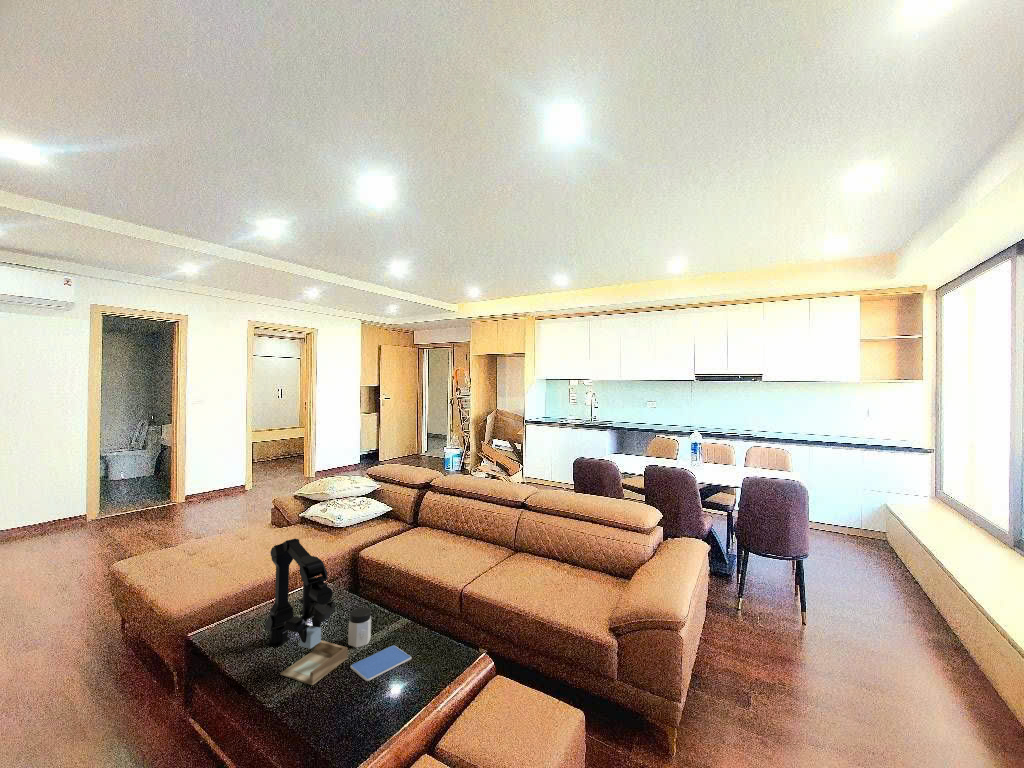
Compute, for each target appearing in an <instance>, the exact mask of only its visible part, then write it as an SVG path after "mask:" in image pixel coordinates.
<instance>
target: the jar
mask: <svg viewBox="0 0 1024 768" xmlns="http://www.w3.org/2000/svg"><path fill="white" fill-rule="evenodd" d="M371 612H372V611H371V609H370V608H368V607H358V608H357V607H356V608H354V609H352V610H351V611H350V613H349V620H348V635H347V637H348V638H347V644H348V645H347V646H351V647H354V648H360V647H364V646H366V645H367V646H368V644H369V642H370V640H371V638H372V637H371V636H372V635H371V633H372V615H371Z"/></svg>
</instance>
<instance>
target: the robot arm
mask: <svg viewBox="0 0 1024 768" xmlns="http://www.w3.org/2000/svg"><path fill="white" fill-rule="evenodd" d="M270 558H271V561H272V563H273V565H275V589H274V603H273V605H272V606H271V608H270V610H269V616H268V618H267V619H266V621H264V625H265V630H267V631H268V632H269V635H268V640H267V641H266V642H265V645H269V646H272V647H275V648H279V647H280V646H281V645H283V644H285V643H286V642H288V641H290V640H291V637H289V636H288V635H289V632H292V633H297V634H298V636H299V639H300V638H301V640H302V642H303V643H305V642H306V635H307V628H308V627H309V626H315V627H320V628H321V625H322V623H324V622H325V621H327V620H328V619H330V618H331V616H332V613H334V612H335V611H336V610H335V609H336V602H335V601H333V600H331V599H332V598H333V593H334V592H333V590H332V588H330V587H329V585H328V584H329V583H326V582H325V581H328V579H329V577H328V575H329V574H328V571H327V568H326V566H325V563H324V561H322V559H320V558H319V557H318V556H314V555H311V554H310V553H309V552H308V551H307V549H306V548H305V547H304V546H303V545H302V544H301V542H300V539H299V538H291V539H287V540H285V541H284V542H282V543H279V544H275V545H273V547H271V550H270ZM293 561H295V562H296V564H297V565H298V566H299V570H298V573H299V575H300V578H301V582H303V583H302V598H301V599H300V600H299V603H301V604H302V605H301V606H302V609H301V610H300V611H299V615H301V617H298V616H294V614H295V613H294V607H293V605H291V603H290V602H289V591H290V590H289V587H290V585H289V584H290V565H291V564H292V562H293ZM309 620H311V622H312V623H311V625H310V624H308V621H309ZM288 631H289V632H288Z"/></svg>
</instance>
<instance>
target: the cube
mask: <svg viewBox="0 0 1024 768" xmlns="http://www.w3.org/2000/svg"><path fill="white" fill-rule="evenodd" d="M321 640H322V627H321V626H320V627H315V626H313V625H310V626H309V627H308V628H307V635H306V642H305V643H303V642H302V640H301V638H300V637H299V647H302V648H306V649H310V650H311V649H312V648H315V645H317V644H318V643H320V642H321Z"/></svg>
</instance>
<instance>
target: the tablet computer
mask: <svg viewBox="0 0 1024 768" xmlns="http://www.w3.org/2000/svg"><path fill="white" fill-rule="evenodd" d="M412 659H413V658H412V656H411V655H410V654H407V653H406V652H405V651H404V650H402V649H400V648H399V647H398V646H396V645H394V644H393V645H391V646H389V647H386V648H385V649H382V650H380V651H378V652H375V653H374V654H372V655H370V656H368V657H365V658H363V659H360V660H359V661H357V662H354V663H352V664H351V665H350V667H349V668H350V669H351V670H352V671H353V672H354V673H356V674H357V675H358V676H359V677H360V678H361V679H362V680H364V681H365V682H370V681H371V680H373V679H375V678H377V677H379V676H381V675H383V674H385V673H387V672H388V671H391V670H392V669H394V668H396V667H399V666H400V665H403V664H404V663H407V662H409V661H411V660H412Z"/></svg>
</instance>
